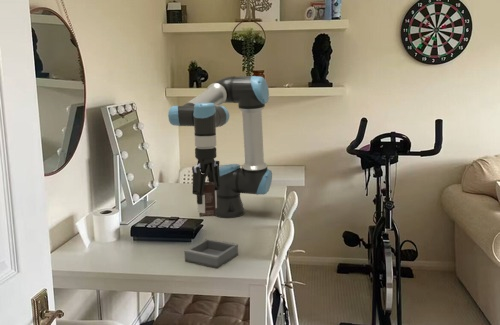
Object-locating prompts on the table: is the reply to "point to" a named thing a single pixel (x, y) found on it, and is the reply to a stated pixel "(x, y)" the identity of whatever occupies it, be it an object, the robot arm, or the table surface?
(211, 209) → the box
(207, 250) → the tray
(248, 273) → the table surface
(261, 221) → the table surface
